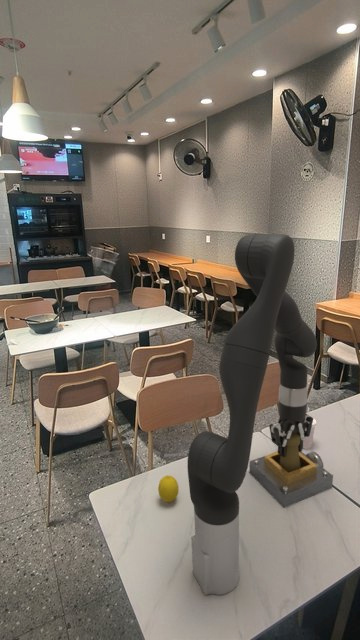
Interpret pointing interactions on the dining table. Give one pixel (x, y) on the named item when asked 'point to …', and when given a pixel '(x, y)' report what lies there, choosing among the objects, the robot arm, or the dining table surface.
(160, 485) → the lemon
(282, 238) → the robot arm
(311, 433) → the smoothie
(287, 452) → the olive pestle shaped cylinder
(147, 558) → the dining table surface
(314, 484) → the square socket fixture
